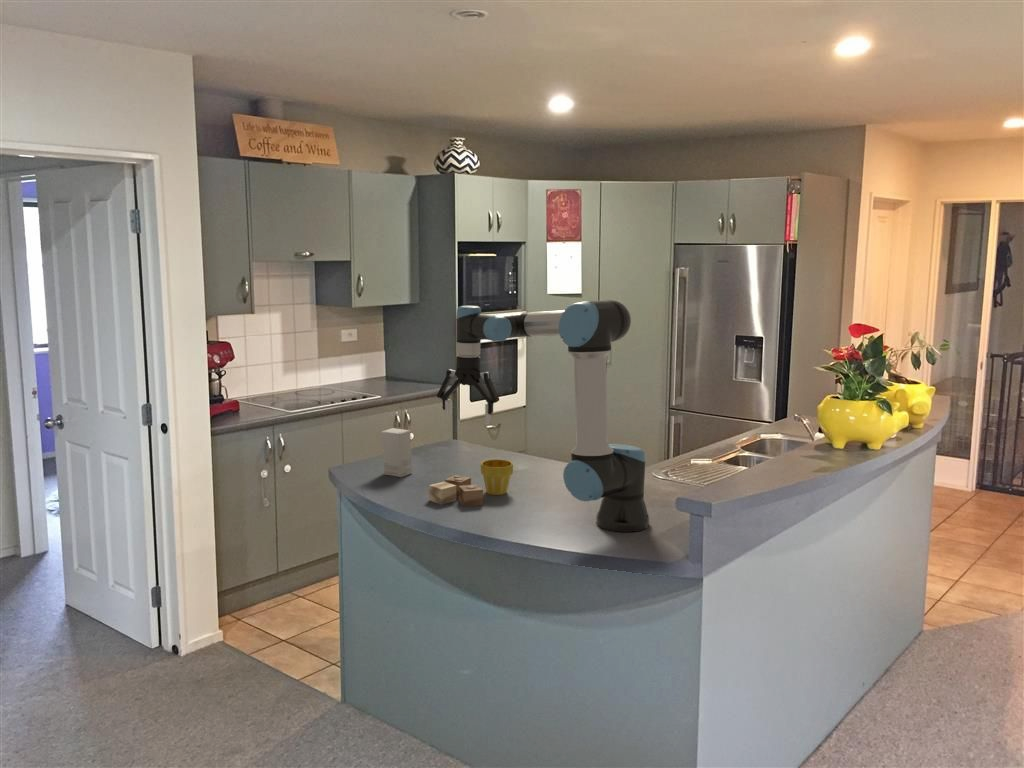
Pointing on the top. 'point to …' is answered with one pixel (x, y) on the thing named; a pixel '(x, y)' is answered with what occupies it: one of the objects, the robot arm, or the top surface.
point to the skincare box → (396, 452)
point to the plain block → (442, 492)
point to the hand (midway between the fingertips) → (467, 422)
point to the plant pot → (496, 475)
